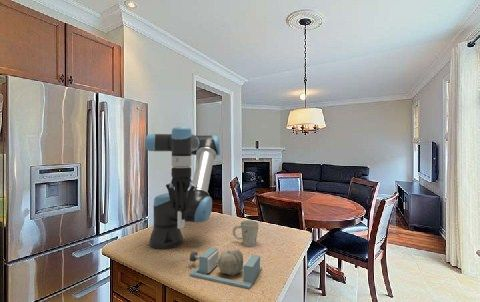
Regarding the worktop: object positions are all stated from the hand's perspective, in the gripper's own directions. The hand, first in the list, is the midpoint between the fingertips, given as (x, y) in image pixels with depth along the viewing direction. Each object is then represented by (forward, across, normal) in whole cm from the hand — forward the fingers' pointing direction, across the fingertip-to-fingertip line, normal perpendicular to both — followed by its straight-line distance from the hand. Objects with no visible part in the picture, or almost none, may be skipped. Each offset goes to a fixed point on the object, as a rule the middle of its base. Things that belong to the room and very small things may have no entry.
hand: (181, 227), depth 95 cm
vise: (+14, +20, 0) cm, 24 cm away
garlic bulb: (+14, +21, 0) cm, 25 cm away
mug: (+14, +17, +28) cm, 36 cm away
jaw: (+14, +10, 0) cm, 17 cm away
